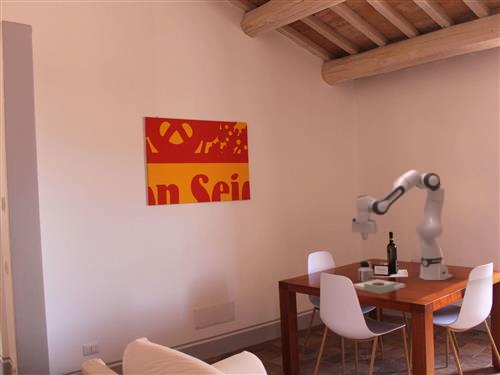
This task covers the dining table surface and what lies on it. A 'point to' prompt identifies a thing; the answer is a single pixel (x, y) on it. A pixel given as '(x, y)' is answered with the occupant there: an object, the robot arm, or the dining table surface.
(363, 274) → the container
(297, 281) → the dining table surface
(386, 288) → the trap board
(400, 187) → the robot arm
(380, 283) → the block
